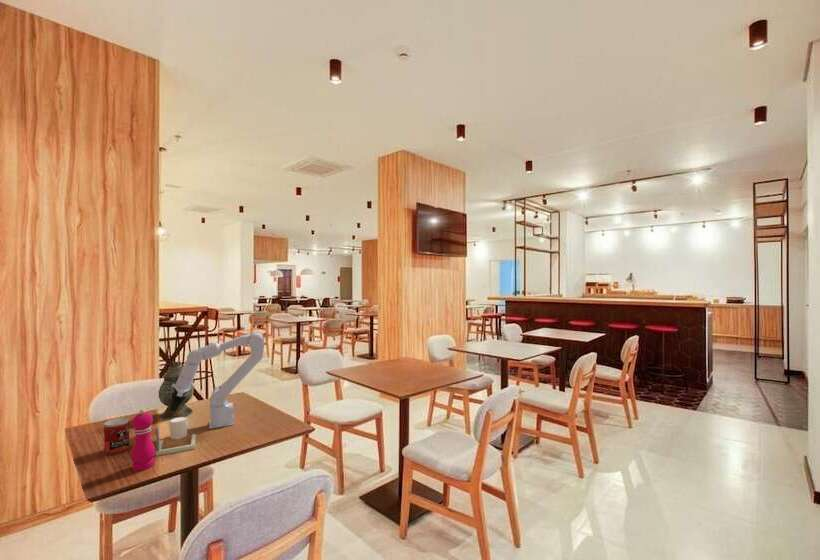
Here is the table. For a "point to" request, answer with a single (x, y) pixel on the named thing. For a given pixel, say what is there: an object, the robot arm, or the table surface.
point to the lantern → (167, 391)
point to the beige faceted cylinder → (178, 427)
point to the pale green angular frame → (171, 450)
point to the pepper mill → (142, 442)
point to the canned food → (116, 435)
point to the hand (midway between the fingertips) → (173, 407)
